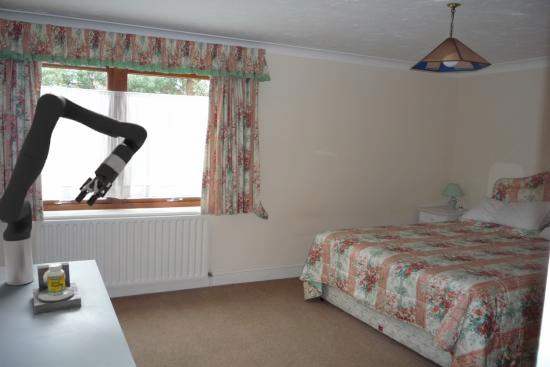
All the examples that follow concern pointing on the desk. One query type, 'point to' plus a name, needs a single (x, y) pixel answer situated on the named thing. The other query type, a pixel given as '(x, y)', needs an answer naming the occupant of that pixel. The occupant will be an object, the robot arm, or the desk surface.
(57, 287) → the supplement bottle
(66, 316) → the desk surface
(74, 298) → the scale
